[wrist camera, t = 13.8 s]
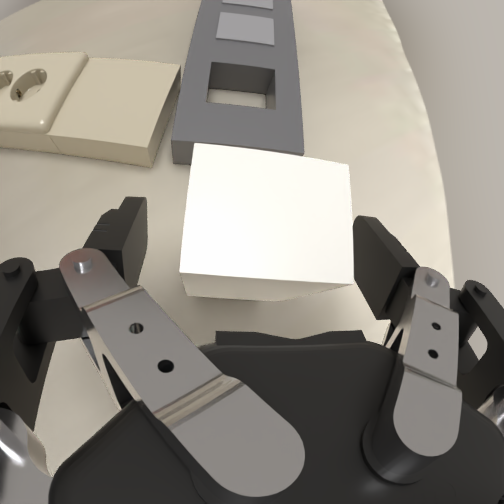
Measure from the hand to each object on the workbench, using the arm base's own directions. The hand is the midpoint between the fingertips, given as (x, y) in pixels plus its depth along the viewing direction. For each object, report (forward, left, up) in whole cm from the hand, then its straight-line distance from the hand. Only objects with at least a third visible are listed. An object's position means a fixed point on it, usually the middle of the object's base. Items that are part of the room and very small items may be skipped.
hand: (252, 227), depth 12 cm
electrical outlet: (-14, +11, -9) cm, 20 cm away
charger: (0, -1, -8) cm, 8 cm away
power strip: (0, +20, -8) cm, 21 cm away
